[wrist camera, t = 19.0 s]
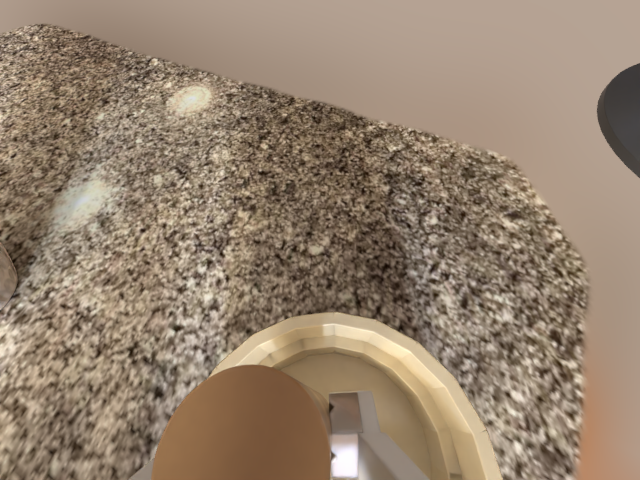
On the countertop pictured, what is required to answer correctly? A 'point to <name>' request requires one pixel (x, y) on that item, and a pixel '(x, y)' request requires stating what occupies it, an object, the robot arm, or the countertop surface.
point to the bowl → (381, 387)
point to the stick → (247, 430)
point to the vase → (6, 277)
